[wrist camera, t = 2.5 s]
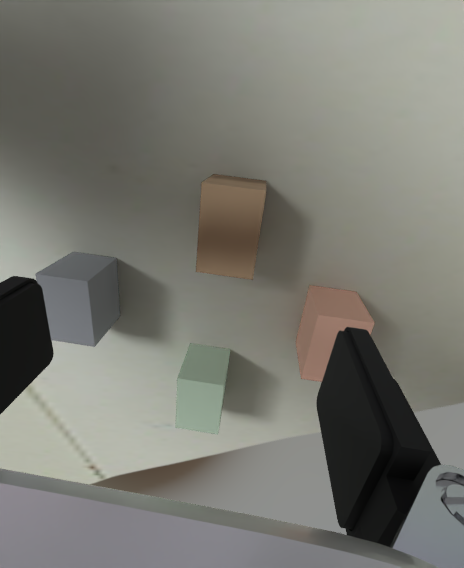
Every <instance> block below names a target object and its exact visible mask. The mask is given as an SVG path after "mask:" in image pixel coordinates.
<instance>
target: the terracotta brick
mask: <svg viewBox="0 0 464 568" xmlns="http://www.w3.org/2000/svg"><path fill="white" fill-rule="evenodd" d="M374 324H375V322H374V321H373V319H372V317H371V316H370V314H369V312H368V311H367V309H366V307H365V305H364V304H363V302H362V300H361V299H360V297H359V295H358V294H357V292H354V291H347V290H340V289H333V288H326V287H319V286H312V285H309V289H308V294H307V298H306V302H305V306H304V310H303V314H302V318H301V322H300V326H299V330H298V334H297V339H296V348H297V354H298V361H299V368H300V375H301V379H307V380H313V381H320V382H322V380H323V377H324V374H325V371H326V368H327V364H328V361H329V358H330V355H331V352H332V349H333V346H334V342H335V339H336V336H337V333H338V332H339V331H340V330H341V331H344V330H345V328H346V327H352V328H359V329H365V330H367V331H368V332H369V334H370V335H371V332H372V330H373V327H374Z"/></svg>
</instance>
